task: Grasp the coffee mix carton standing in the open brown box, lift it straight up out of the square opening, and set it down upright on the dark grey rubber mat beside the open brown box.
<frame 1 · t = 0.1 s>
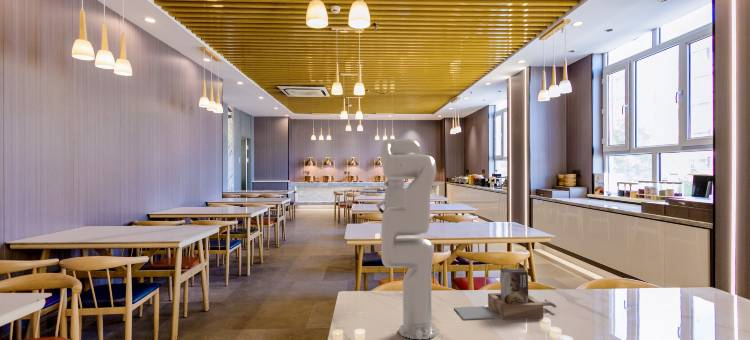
hand: (396, 222, 178), 31 cm above the table, tool pointing down, fingers open, 9 cm apart
coffee box: (514, 312, 152), resting in open brown box
mat: (474, 313, 151), on the table
open brown box: (514, 311, 152), on the table
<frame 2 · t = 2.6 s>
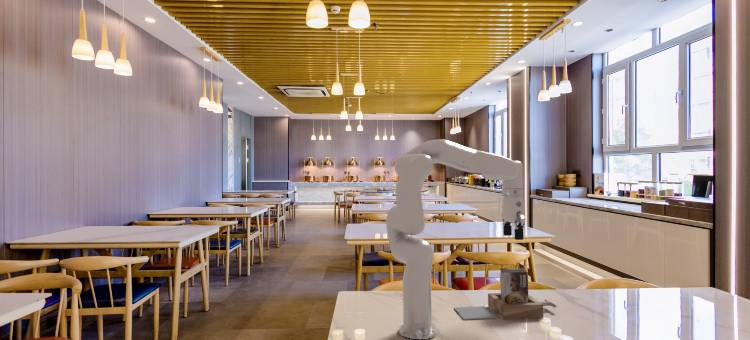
hand: (513, 237, 153), 28 cm above the table, tool pointing down, fingers open, 9 cm apart
nothing on the table moved.
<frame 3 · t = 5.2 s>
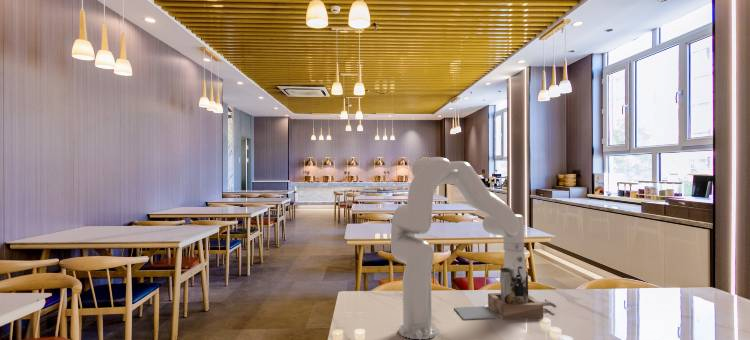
hand: (514, 292, 152), 7 cm above the table, tool pointing down, fingers closed on coffee box, 7 cm apart
coffee box: (514, 312, 152), resting in open brown box, touching gripper
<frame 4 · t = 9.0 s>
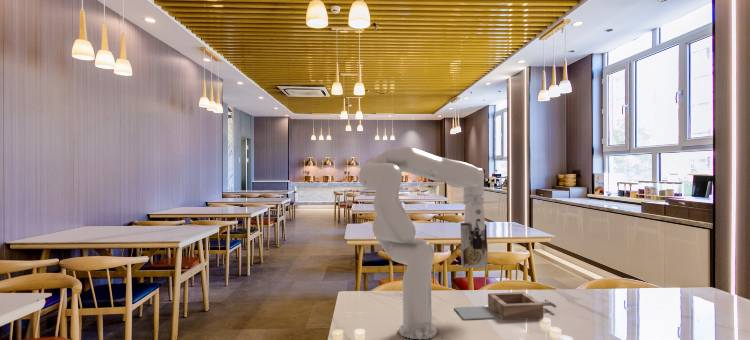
hand: (473, 246, 151), 25 cm above the table, tool pointing down, fingers closed on coffee box, 7 cm apart
coffee box: (473, 266, 151), point 18 cm above the table, touching gripper
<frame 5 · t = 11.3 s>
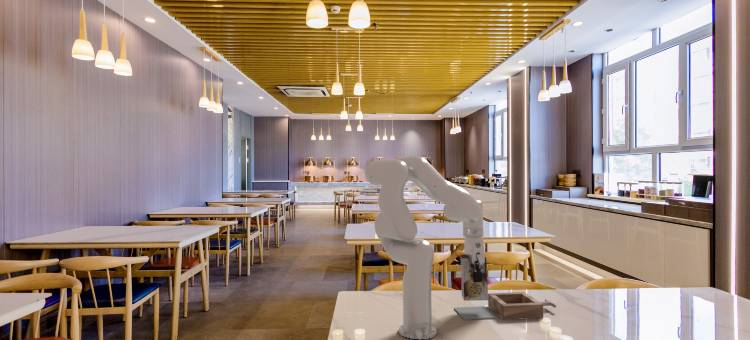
hand: (473, 278, 151), 13 cm above the table, tool pointing down, fingers closed on coffee box, 7 cm apart
coffee box: (474, 298, 151), point 6 cm above the table, touching gripper
when the fingers open (9 cm above the table, at t = 13.1 s): coffee box drops 1 cm, resting on mat.
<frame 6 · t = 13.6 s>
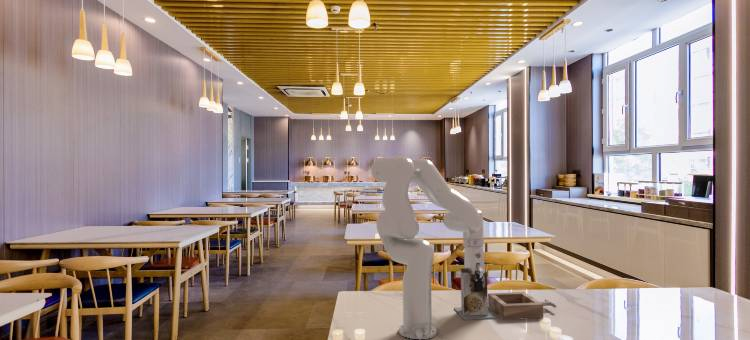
hand: (473, 287, 151), 10 cm above the table, tool pointing down, fingers open, 9 cm apart
coffee box: (474, 313, 150), resting on mat
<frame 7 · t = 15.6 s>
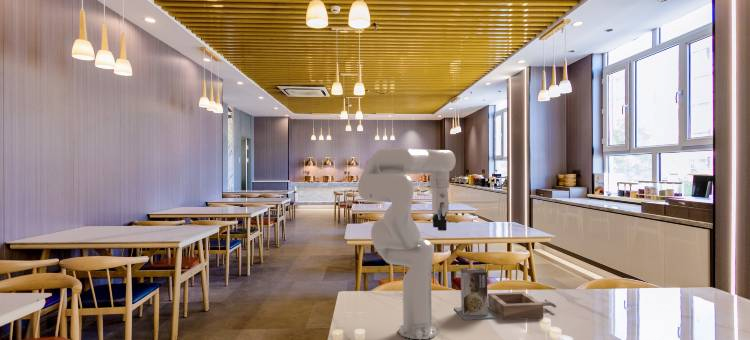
hand: (439, 228, 154), 32 cm above the table, tool pointing down, fingers open, 9 cm apart
nothing on the table moved.
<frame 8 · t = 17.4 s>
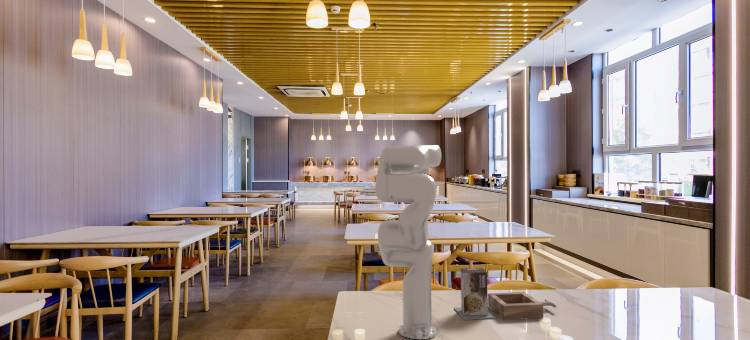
hand: (419, 222, 156), 34 cm above the table, tool pointing down, fingers open, 9 cm apart
nothing on the table moved.
at the end: coffee box inside the target area on the mat (0.3 cm from its centre), point 0.3 cm above the mat's base; coffee box tilted 0°; the gripper is holding nothing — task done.
